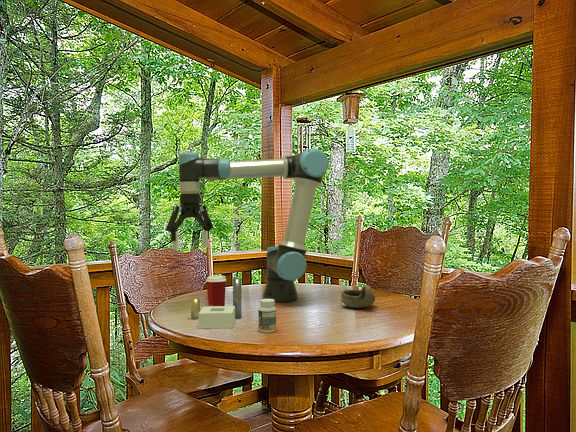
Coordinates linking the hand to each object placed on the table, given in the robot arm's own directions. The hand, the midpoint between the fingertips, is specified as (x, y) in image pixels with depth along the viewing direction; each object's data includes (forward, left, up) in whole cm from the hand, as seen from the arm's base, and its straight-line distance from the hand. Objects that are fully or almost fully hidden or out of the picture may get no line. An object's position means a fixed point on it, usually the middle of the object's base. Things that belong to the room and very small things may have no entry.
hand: (190, 248), depth 176 cm
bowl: (-65, -1, -24) cm, 70 cm away
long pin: (-19, +12, -24) cm, 33 cm away
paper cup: (-10, +5, -24) cm, 27 cm away
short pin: (-4, +12, -24) cm, 27 cm away
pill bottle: (-30, +30, -24) cm, 49 cm away
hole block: (-13, +21, -24) cm, 34 cm away
